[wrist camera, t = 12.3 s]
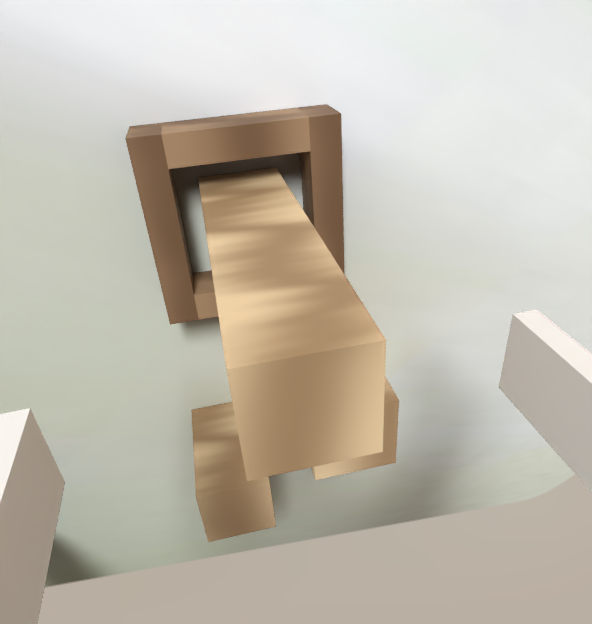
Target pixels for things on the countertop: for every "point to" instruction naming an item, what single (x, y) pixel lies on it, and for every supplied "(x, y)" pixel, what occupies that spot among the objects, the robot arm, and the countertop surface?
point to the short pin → (226, 477)
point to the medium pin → (373, 459)
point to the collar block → (223, 148)
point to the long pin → (289, 331)
